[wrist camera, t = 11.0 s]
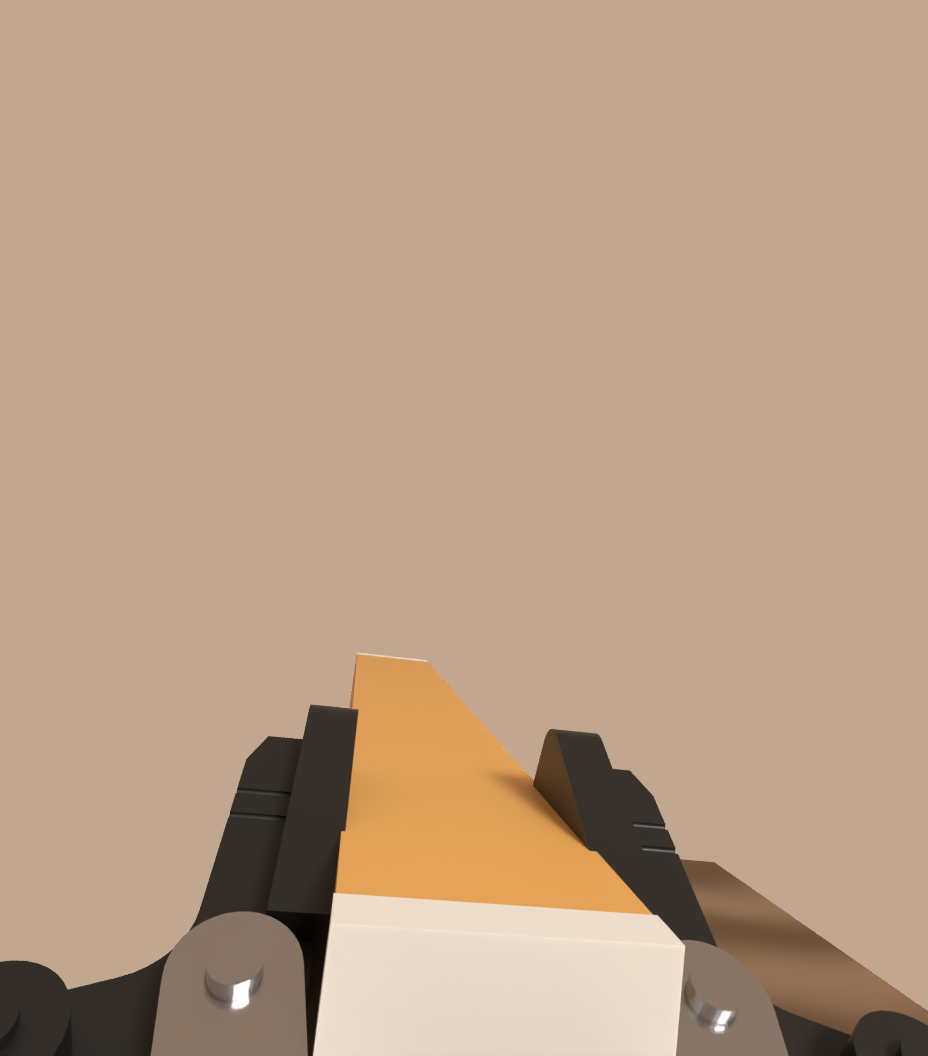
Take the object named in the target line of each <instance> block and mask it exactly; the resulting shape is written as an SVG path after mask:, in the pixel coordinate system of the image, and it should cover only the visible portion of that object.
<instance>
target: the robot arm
mask: <svg viewBox="0 0 928 1056" xmlns="http://www.w3.org/2000/svg"><path fill="white" fill-rule="evenodd" d="M358 710H359V709H350V708H339V707H330V706H319V705H310V708H309V713H308V718H307V722H306V727H305V732H304V737H303V739H293V738H282V737H270V736H268V737H267V738H266V740H264V742H263V743H262V744H261V745H260V746H259V747H258V748H257V749H256V750H255V751H254V752H253V753H252V754H251V755H250V756H249V757H248V758H247V759H246V762H245V765H244V769H243V772H242V775H241V779H240V781H239V785H238V789H237V793H236V794H235V798H234V801H233V804H232V807H231V811H230V816H229V818H228V821H227V824H226V827H225V830H224V833H223V837H222V840H221V843H220V846H219V849H218V852H217V856H216V859H215V862H214V865H213V869H212V872H211V875H210V878H209V882H208V885H207V888H206V891H205V895H204V898H203V901H202V904H201V907H200V911H199V913H198V916H197V918H196V921H195V922H194V924H193V926H192V928H191V929H190V931H189V932H188V933H187V934H186V935H184V936H183V938H182V939H181V940H180V941H179V942H178V943H177V944H176V946H175V947H174V949H173V950H172V951H170V952H169V953H168V954H166V955H165V956H164V957H162V958H161V959H159V960H158V961H156V962H154V963H153V964H151V965H149V966H147V967H145V968H143V969H141V970H138V971H136V972H134V973H131V974H128V975H124V976H121V977H118V978H114V979H110V980H106V981H102V982H97V983H93V984H90V985H85V986H81V987H77V988H73V989H69V990H67V988H66V986H65V984H64V982H63V981H62V979H61V978H60V977H59V976H58V975H57V974H56V973H55V972H53V971H52V970H51V969H49V968H47V967H45V966H43V965H40V964H38V963H32V962H28V961H4V962H0V1056H312V1050H313V1043H314V1036H315V1028H316V1021H317V1014H318V1007H319V1000H320V992H321V985H322V977H323V969H324V962H325V954H326V947H327V939H328V932H329V924H330V916H331V909H332V901H333V894H334V890H335V882H336V873H337V864H338V856H339V847H340V838H341V831H346V822H347V812H348V803H349V794H350V785H351V776H352V766H353V757H354V748H355V739H356V729H357V720H358ZM533 786H534V787H535V788H536V790H537V791H538V792H539V793H540V794H541V795H542V797H543V798H544V799H545V800H546V801H547V802H548V803H549V805H550V806H551V807H552V808H553V809H554V810H555V811H556V813H557V814H558V815H559V816H560V817H561V818H562V820H563V821H564V822H565V823H566V824H567V825H568V826H569V828H570V829H571V830H572V831H573V832H574V833H575V835H576V836H577V837H578V838H579V839H580V840H581V841H582V843H583V844H584V845H585V846H586V847H587V848H588V850H589V851H597V852H598V854H599V855H600V856H601V857H602V858H603V859H604V860H605V861H606V863H607V864H608V865H609V866H610V867H611V868H612V869H613V870H614V872H615V873H616V874H617V875H618V876H619V877H620V878H621V879H622V880H623V882H624V883H625V884H626V885H627V886H628V887H629V888H630V889H631V891H632V892H633V893H634V894H635V895H636V896H637V897H638V898H639V900H640V901H641V902H642V903H643V904H644V905H645V906H646V907H647V909H648V910H649V911H650V912H651V913H652V914H653V915H658V916H659V917H660V918H661V920H662V921H663V922H664V923H665V924H666V925H667V926H668V927H669V928H670V930H671V931H672V932H673V933H674V934H675V935H676V936H677V937H678V938H679V939H680V941H681V942H682V943H683V944H684V945H685V954H684V966H683V977H682V989H681V1001H680V1013H679V1024H678V1036H677V1048H676V1056H928V1025H926V1024H924V1023H923V1022H921V1021H919V1020H917V1019H915V1018H912V1017H910V1016H907V1015H904V1014H901V1013H897V1012H893V1011H883V1010H880V1011H873V1012H870V1013H868V1014H865V1015H864V1016H863V1017H862V1018H861V1019H860V1020H859V1021H858V1023H857V1025H856V1026H855V1028H854V1030H853V1032H852V1034H851V1035H849V1034H846V1033H844V1032H841V1031H838V1030H836V1029H833V1028H830V1027H828V1026H825V1025H822V1024H820V1023H817V1022H814V1021H811V1020H809V1019H806V1018H803V1017H801V1016H798V1015H795V1014H793V1013H790V1012H788V1011H786V1010H783V1009H781V1008H779V1007H777V1006H775V1005H774V1004H772V1002H771V999H770V997H769V996H768V994H767V992H766V990H765V988H764V987H763V986H762V984H761V983H760V982H759V980H758V979H757V978H756V977H755V975H754V974H753V973H752V972H751V971H750V970H749V969H748V968H747V967H746V966H745V965H744V964H742V963H741V962H740V961H739V960H737V959H736V958H735V957H733V956H732V955H731V954H729V953H727V952H725V951H724V950H722V949H720V948H718V947H717V945H716V942H715V940H714V938H713V935H712V933H711V931H710V928H709V926H708V924H707V921H706V919H705V916H704V914H703V912H702V909H701V907H700V905H699V902H698V900H697V898H696V895H695V893H694V891H693V888H692V886H691V884H690V881H689V879H688V877H687V874H686V872H685V870H684V867H683V865H682V862H681V860H680V858H679V855H678V854H675V846H674V844H673V842H672V839H671V837H670V834H669V832H668V830H665V823H664V820H663V818H662V816H661V813H660V811H659V809H658V806H657V804H656V801H655V799H654V797H653V796H652V794H651V793H650V792H649V791H648V790H647V789H646V788H645V787H644V786H643V784H642V783H641V782H640V781H639V780H638V779H637V778H636V777H635V776H634V775H633V774H632V772H631V771H628V770H618V769H612V766H611V763H610V761H609V758H608V756H607V753H606V750H605V748H604V745H603V742H602V740H601V737H600V736H599V735H598V734H595V733H585V732H575V731H565V730H555V729H550V730H549V731H548V733H547V735H546V737H545V740H544V744H543V748H542V752H541V756H540V759H539V764H538V767H537V771H536V775H535V779H534V783H533Z"/></svg>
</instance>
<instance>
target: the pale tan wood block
mask: <svg viewBox="0 0 928 1056" xmlns="http://www.w3.org/2000/svg"><path fill="white" fill-rule="evenodd" d="M350 709H359V710H358V720H357V729H356V739H355V748H354V757H353V766H352V776H351V785H350V794H349V803H348V812H347V822H346V831H341V838H340V847H339V856H338V864H337V873H336V882H335V890H334V894H333V901H332V909H331V916H330V924H329V932H328V939H327V947H326V954H325V962H324V969H323V977H322V985H321V992H320V1000H319V1007H318V1014H317V1021H316V1028H315V1036H314V1043H313V1050H312V1056H676V1048H677V1036H678V1024H679V1013H680V1001H681V989H682V977H683V966H684V954H685V945H684V944H683V943H682V942H681V941H680V939H679V938H678V937H677V936H676V935H675V934H674V933H673V932H672V931H671V930H670V928H669V927H668V926H667V925H666V924H665V923H664V922H663V921H662V920H661V918H660V917H659V916H658V915H653V914H652V913H651V912H650V911H649V910H648V909H647V907H646V906H645V905H644V904H643V903H642V902H641V901H640V900H639V898H638V897H637V896H636V895H635V894H634V893H633V892H632V891H631V889H630V888H629V887H628V886H627V885H626V884H625V883H624V882H623V880H622V879H621V878H620V877H619V876H618V875H617V874H616V873H615V872H614V870H613V869H612V868H611V867H610V866H609V865H608V864H607V863H606V861H605V860H604V859H603V858H602V857H601V856H600V855H599V854H598V852H597V851H589V850H588V848H587V847H586V846H585V845H584V844H583V843H582V841H581V840H580V839H579V838H578V837H577V836H576V835H575V833H574V832H573V831H572V830H571V829H570V828H569V826H568V825H567V824H566V823H565V822H564V821H563V820H562V818H561V817H560V816H559V815H558V814H557V813H556V811H555V810H554V809H553V808H552V807H551V806H550V805H549V803H548V802H547V801H546V800H545V799H544V798H543V797H542V795H541V794H540V793H539V792H538V791H537V790H536V788H535V787H534V786H533V783H534V781H533V780H532V779H531V777H530V776H529V775H528V774H527V773H526V772H525V771H524V770H523V768H522V767H521V766H520V765H519V764H518V763H517V762H516V761H515V760H514V758H513V757H512V756H511V755H510V754H509V753H508V752H507V751H506V749H505V748H504V747H503V746H502V745H501V744H500V743H499V742H498V740H497V739H496V738H495V737H494V736H493V735H492V734H491V733H490V731H489V730H488V729H487V728H486V727H485V726H484V725H483V724H482V723H481V721H480V720H479V719H478V718H477V717H476V716H475V715H474V714H473V712H472V711H471V710H470V709H469V708H468V707H467V706H466V705H465V703H464V702H463V701H462V700H461V699H460V698H459V697H458V696H457V695H456V694H455V692H454V691H453V690H452V689H451V688H450V687H449V685H447V683H446V682H445V681H444V680H443V679H442V678H441V677H440V675H439V674H438V673H437V672H436V671H435V670H434V669H433V668H432V666H431V665H430V664H429V663H428V661H427V660H422V659H412V658H403V657H394V656H385V655H375V654H367V653H357V656H356V664H355V672H354V679H353V687H352V694H351V701H350Z"/></svg>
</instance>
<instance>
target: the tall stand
mask: <svg viewBox="0 0 928 1056" xmlns="http://www.w3.org/2000/svg"><path fill="white" fill-rule="evenodd" d="M680 860H681V859H680ZM681 862H682V865H683V867H684V870H685V872H686V874H687V877H688V879H689V881H690V884H691V886H692V888H693V891H694V893H695V895H696V898H697V900H698V902H699V905H700V907H701V909H702V912H703V914H704V916H705V919H706V921H707V924H708V926H709V928H710V931H711V933H712V935H713V938H714V940H715V942H716V945H717V947H718V948H720V949H722V950H724V951H725V952H727V953H729V954H731V955H732V956H733V957H735V958H736V959H737V960H739V961H740V962H741V963H742V964H744V965H745V966H746V967H747V968H748V969H749V970H750V971H751V972H752V973H753V974H754V975H755V977H756V978H757V979H758V980H759V982H760V983H761V984H762V986H763V987H764V988H765V990H766V992H767V994H768V996H769V997H770V999H771V1002H772V1004H774V1005H775V1006H777V1007H779V1008H781V1009H783V1010H786V1011H788V1012H790V1013H793V1014H795V1015H798V1016H801V1017H803V1018H806V1019H809V1020H811V1021H814V1022H817V1023H820V1024H822V1025H825V1026H828V1027H830V1028H833V1029H836V1030H838V1031H841V1032H844V1033H846V1034H849V1035H851V1034H852V1032H853V1030H854V1028H855V1026H856V1025H857V1023H858V1021H859V1020H860V1019H861V1018H862V1017H863V1016H864V1015H865V1014H868V1013H870V1012H873V1011H880V1010H883V1011H893V1012H897V1013H901V1014H904V1015H907V1016H910V1017H912V1018H915V1019H917V1020H919V1021H921V1022H923V1023H924V1024H926V1025H928V1011H927V1010H925V1009H924V1008H922V1007H921V1006H920V1005H918V1004H917V1003H915V1002H914V1001H912V1000H911V999H910V998H908V997H907V996H905V995H904V994H902V993H901V992H899V991H898V990H897V989H895V988H894V987H892V986H891V985H889V984H888V983H887V982H885V981H884V980H882V979H881V978H879V977H878V976H876V975H875V974H874V973H872V972H871V971H869V970H868V969H866V968H865V967H863V966H862V965H861V964H859V963H858V962H856V961H855V960H853V959H852V958H851V957H849V956H848V955H846V954H845V953H844V952H842V951H841V950H839V949H838V948H836V947H835V946H833V945H832V944H831V943H829V942H828V941H826V940H825V939H823V938H822V937H820V936H819V935H817V934H816V933H815V932H813V931H812V930H811V929H809V928H807V927H806V926H805V925H803V924H802V923H800V922H799V921H797V920H796V919H795V918H793V917H792V916H790V915H789V914H788V913H786V912H785V911H783V910H782V909H780V908H779V907H777V906H776V905H775V904H773V903H772V902H770V901H769V900H767V899H766V898H765V897H763V896H762V895H760V894H759V893H757V892H756V891H755V890H753V889H752V888H750V887H749V886H747V885H746V884H745V883H743V882H742V881H740V880H739V879H737V878H736V877H734V876H733V875H732V874H730V873H729V872H727V871H726V870H724V869H723V868H721V867H720V866H719V865H717V864H716V863H714V862H703V861H692V860H681Z"/></svg>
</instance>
